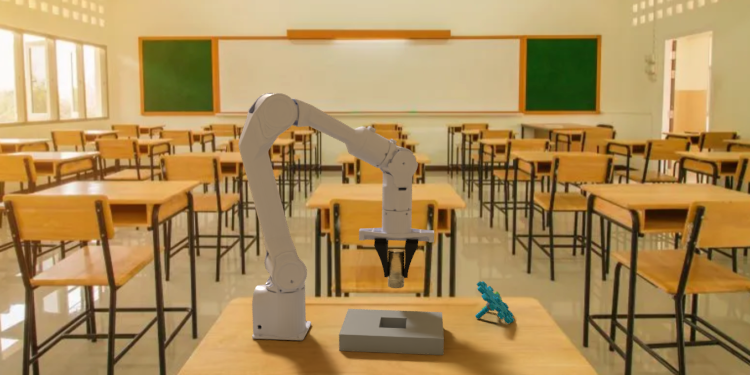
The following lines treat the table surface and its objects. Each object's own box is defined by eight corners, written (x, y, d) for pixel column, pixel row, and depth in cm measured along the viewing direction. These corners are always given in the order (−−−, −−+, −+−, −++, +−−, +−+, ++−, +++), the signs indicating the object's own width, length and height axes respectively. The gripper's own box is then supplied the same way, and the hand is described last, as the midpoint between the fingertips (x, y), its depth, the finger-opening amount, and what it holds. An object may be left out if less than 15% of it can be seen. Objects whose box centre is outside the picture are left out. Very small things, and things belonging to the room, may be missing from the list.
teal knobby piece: (514, 325, 109) (478, 283, 111) (490, 344, 111) (455, 302, 113) (519, 311, 120) (486, 274, 122) (497, 329, 121) (465, 291, 123)
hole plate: (339, 350, 102) (339, 334, 102) (348, 323, 114) (348, 308, 113) (443, 355, 100) (443, 338, 100) (441, 327, 112) (442, 312, 112)
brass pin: (387, 288, 114) (387, 253, 113) (388, 282, 118) (388, 248, 116) (403, 288, 114) (404, 253, 113) (404, 283, 117) (404, 249, 116)
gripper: (434, 205, 117) (432, 271, 119) (361, 203, 118) (361, 268, 120) (434, 212, 110) (433, 282, 112) (357, 210, 111) (357, 279, 113)
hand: (396, 276), depth 116 cm, fingers closed on brass pin, 3 cm apart
